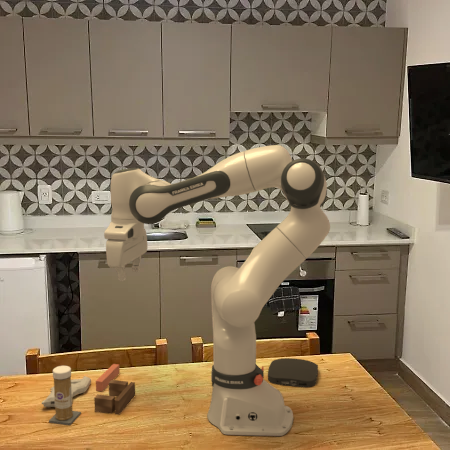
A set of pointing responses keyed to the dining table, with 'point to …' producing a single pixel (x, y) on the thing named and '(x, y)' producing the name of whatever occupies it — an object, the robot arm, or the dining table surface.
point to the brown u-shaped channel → (115, 390)
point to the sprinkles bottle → (62, 392)
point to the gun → (76, 387)
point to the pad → (66, 422)
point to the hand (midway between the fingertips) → (129, 275)
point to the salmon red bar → (107, 377)
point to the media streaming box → (293, 372)
